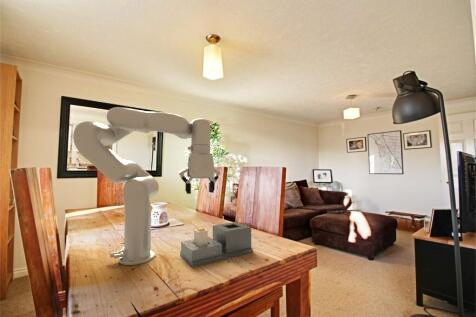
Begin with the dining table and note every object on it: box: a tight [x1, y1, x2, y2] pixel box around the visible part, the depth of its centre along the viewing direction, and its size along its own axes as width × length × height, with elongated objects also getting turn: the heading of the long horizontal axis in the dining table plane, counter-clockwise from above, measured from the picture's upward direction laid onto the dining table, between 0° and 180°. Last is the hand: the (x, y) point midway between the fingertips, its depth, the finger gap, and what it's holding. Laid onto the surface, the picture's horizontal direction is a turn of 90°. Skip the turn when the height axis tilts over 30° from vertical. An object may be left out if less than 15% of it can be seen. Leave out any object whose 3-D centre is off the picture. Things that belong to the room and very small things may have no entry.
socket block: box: [179, 221, 254, 268], centre depth 90 cm, size 26×14×10 cm, turn 122°
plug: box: [193, 227, 209, 246], centre depth 86 cm, size 4×5×10 cm
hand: (200, 192), depth 87 cm, fingers open, 9 cm apart
